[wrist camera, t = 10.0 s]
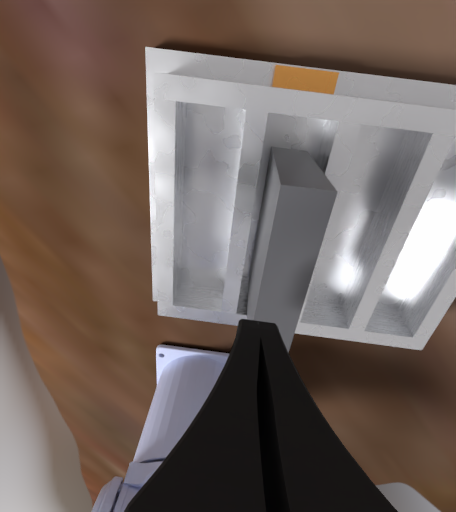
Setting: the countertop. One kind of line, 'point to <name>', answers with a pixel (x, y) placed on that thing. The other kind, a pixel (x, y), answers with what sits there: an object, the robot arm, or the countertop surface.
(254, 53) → the countertop surface
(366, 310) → the rack
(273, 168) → the panel
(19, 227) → the countertop surface
